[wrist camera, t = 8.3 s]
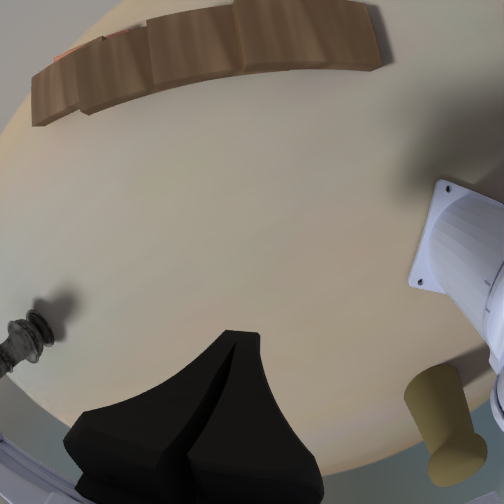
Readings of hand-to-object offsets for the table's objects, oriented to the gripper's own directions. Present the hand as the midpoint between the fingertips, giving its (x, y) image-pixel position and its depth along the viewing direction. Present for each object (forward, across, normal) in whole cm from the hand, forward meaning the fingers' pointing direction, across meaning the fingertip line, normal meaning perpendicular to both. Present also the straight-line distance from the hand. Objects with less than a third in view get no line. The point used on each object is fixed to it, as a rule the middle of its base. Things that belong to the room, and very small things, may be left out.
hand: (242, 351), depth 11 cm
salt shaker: (+11, +28, +11) cm, 32 cm away
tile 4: (+9, +12, -15) cm, 21 cm away
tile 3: (+10, +5, -15) cm, 18 cm away
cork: (+10, -17, +12) cm, 23 cm away
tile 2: (+10, -1, -15) cm, 18 cm away
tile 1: (+10, -7, -16) cm, 20 cm away
